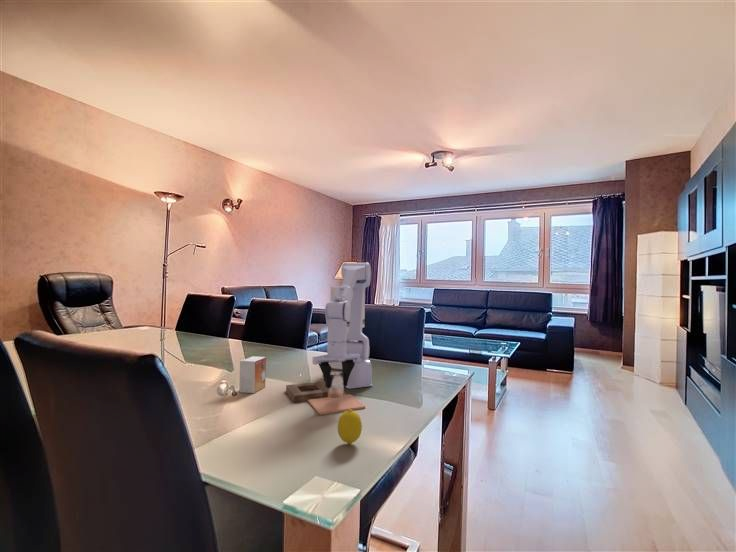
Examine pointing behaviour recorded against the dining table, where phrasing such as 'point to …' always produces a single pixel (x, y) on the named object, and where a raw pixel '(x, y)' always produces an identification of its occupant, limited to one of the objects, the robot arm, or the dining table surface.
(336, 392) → the end cover
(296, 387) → the bore block
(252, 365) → the small box
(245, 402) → the dining table surface
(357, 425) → the lemon
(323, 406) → the tile
